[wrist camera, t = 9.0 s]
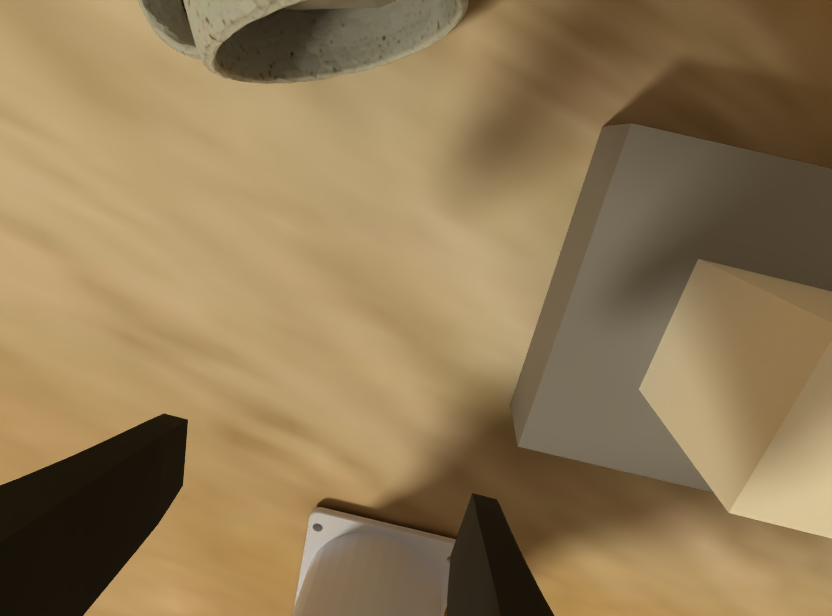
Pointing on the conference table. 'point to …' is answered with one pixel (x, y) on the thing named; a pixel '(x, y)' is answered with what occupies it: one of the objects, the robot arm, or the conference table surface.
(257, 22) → the ceramic mug
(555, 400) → the gray plinth
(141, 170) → the conference table surface
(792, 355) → the cream block
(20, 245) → the conference table surface
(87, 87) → the conference table surface
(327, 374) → the conference table surface
